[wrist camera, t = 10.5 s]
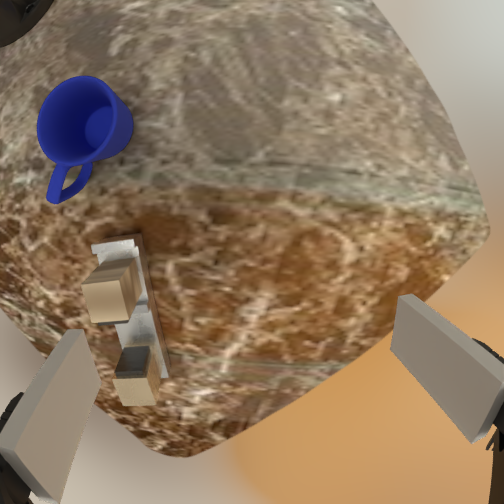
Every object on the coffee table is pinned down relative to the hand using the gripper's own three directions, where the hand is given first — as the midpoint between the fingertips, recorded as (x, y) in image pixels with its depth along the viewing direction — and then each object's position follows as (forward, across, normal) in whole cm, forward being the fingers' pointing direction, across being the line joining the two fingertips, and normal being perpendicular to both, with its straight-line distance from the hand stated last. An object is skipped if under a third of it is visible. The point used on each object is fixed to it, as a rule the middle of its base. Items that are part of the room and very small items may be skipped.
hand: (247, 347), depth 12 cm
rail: (+26, -12, -10) cm, 30 cm away
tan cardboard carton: (+23, -12, -4) cm, 26 cm away
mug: (+26, -13, +11) cm, 31 cm away
